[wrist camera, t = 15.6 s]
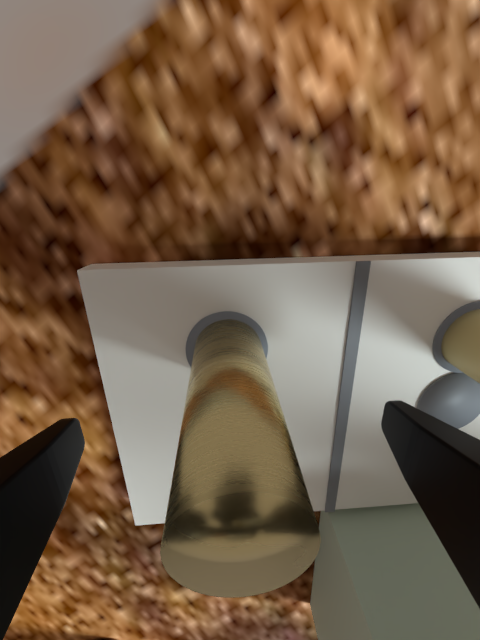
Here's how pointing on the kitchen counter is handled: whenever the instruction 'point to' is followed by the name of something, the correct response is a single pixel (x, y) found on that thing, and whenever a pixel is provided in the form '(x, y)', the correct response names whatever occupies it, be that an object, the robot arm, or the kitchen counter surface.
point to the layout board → (292, 358)
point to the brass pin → (236, 476)
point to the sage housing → (388, 579)
